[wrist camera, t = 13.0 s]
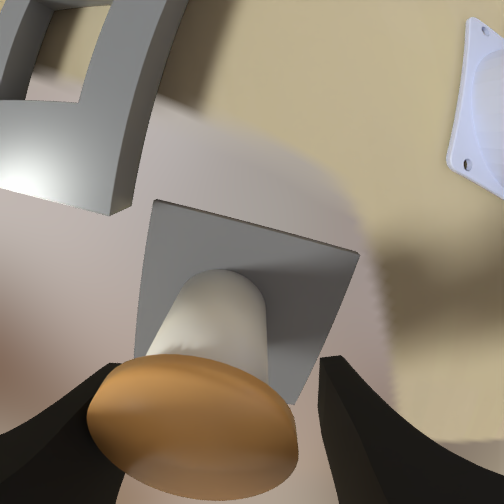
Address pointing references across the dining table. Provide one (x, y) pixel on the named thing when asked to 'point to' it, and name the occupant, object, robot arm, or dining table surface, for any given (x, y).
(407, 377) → the dining table surface
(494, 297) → the dining table surface
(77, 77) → the dining table surface
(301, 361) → the rubber mat
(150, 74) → the grey panel with tab
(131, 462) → the mushroom
